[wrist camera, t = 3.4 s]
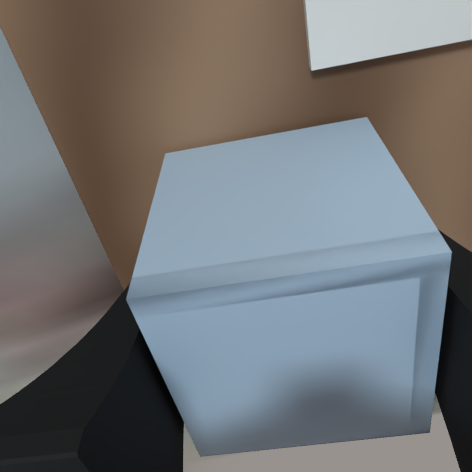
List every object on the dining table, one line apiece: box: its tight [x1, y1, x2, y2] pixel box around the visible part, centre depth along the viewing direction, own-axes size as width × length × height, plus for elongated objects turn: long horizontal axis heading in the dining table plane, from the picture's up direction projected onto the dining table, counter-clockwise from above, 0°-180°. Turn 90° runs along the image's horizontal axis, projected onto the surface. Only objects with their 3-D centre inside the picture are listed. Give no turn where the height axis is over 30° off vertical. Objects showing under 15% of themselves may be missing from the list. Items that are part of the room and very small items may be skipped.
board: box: [0, 0, 472, 290], centre depth 12 cm, size 18×20×1 cm
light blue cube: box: [126, 117, 452, 457], centre depth 12 cm, size 6×6×6 cm
